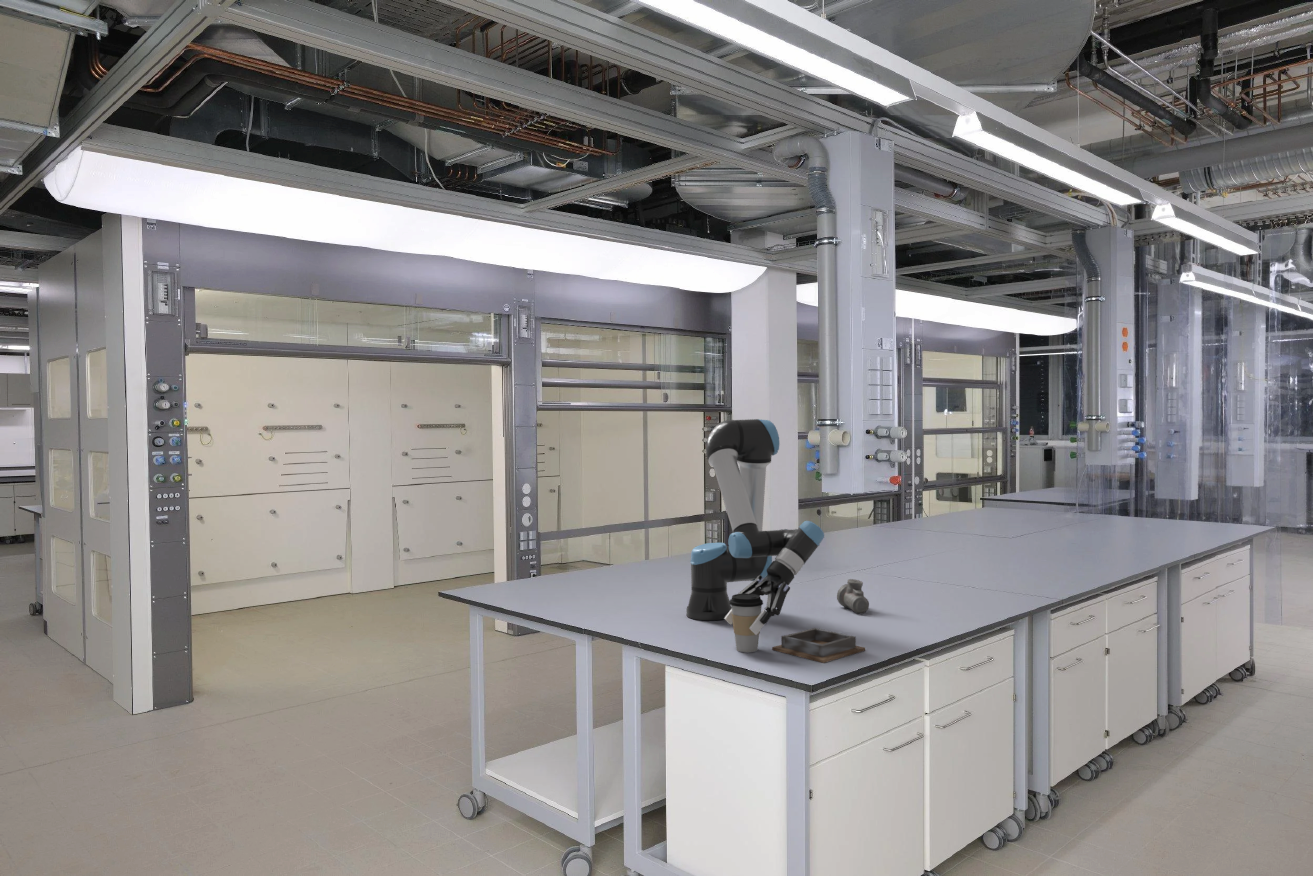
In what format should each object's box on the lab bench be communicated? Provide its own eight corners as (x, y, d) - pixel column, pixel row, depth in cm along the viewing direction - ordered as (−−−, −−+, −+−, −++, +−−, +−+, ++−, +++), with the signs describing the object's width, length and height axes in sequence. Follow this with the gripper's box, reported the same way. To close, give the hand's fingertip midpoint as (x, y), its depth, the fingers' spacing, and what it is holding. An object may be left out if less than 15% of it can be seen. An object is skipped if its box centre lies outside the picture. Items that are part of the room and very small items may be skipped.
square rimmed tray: (772, 650, 245) (772, 636, 245) (814, 638, 256) (813, 625, 256) (823, 663, 231) (823, 648, 231) (865, 650, 243) (865, 636, 242)
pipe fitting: (834, 605, 299) (838, 576, 297) (857, 606, 300) (860, 577, 299) (847, 617, 287) (851, 587, 286) (871, 618, 288) (874, 588, 287)
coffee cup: (759, 655, 239) (758, 600, 239) (725, 652, 242) (725, 598, 242) (767, 646, 248) (766, 594, 248) (734, 644, 251) (734, 592, 251)
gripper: (818, 583, 240) (772, 644, 234) (768, 570, 263) (725, 625, 257) (802, 565, 238) (755, 627, 232) (753, 553, 260) (709, 609, 254)
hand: (739, 626), depth 244 cm, fingers open, 13 cm apart
